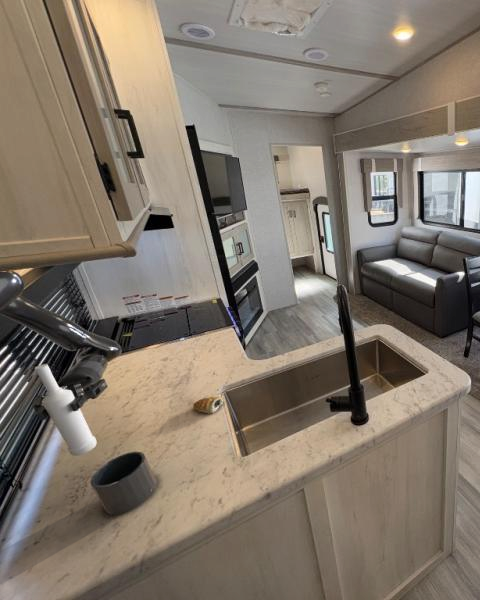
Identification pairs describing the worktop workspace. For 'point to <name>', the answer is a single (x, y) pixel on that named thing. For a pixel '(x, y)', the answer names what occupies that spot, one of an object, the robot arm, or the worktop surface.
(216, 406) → the pastry
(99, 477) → the bowl
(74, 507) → the worktop surface
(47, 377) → the bottle
